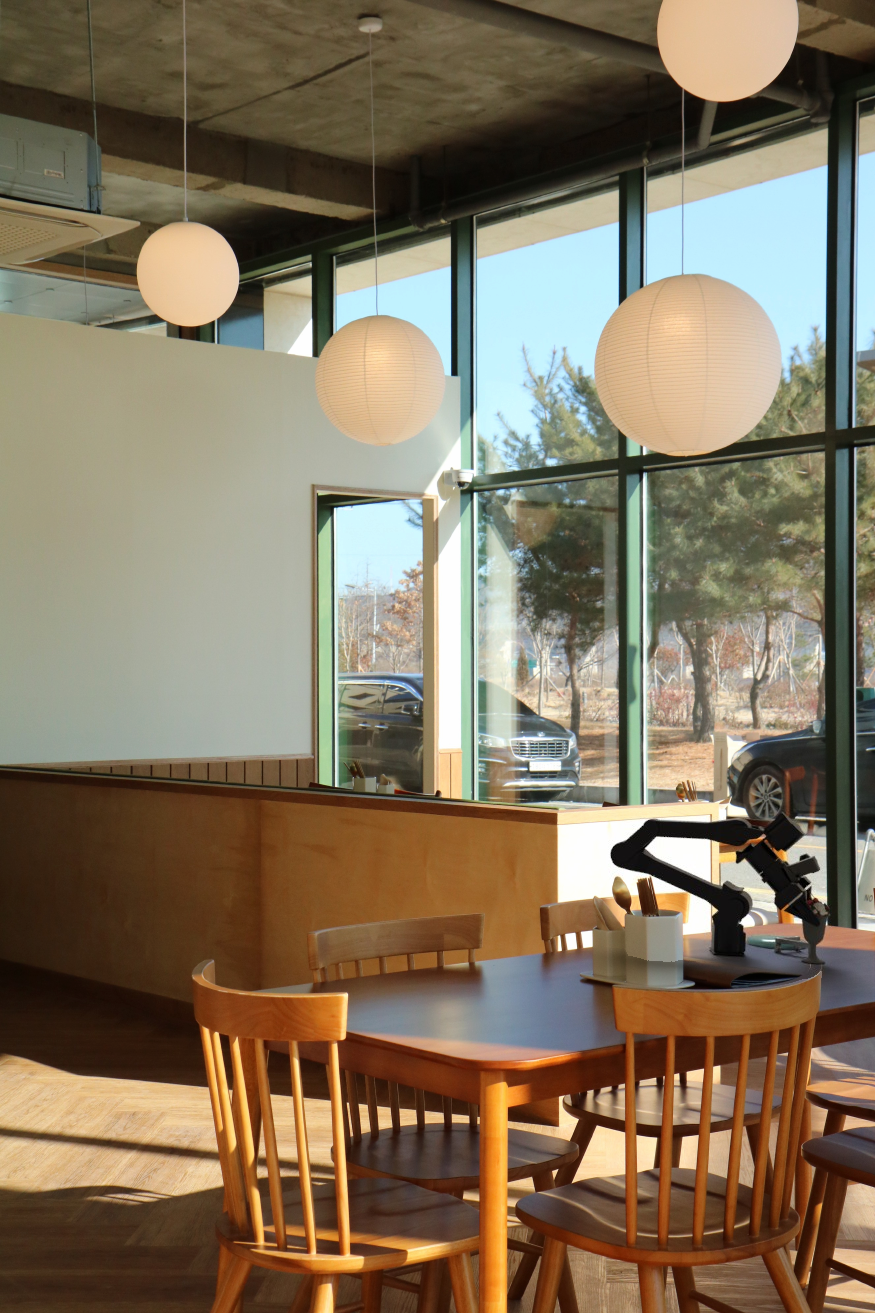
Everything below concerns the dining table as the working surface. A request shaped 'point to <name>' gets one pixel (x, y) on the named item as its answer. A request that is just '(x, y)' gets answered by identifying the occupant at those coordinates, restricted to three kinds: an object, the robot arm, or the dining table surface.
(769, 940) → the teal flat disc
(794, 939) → the jointed flat metal bars
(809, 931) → the sundae
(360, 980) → the dining table surface
